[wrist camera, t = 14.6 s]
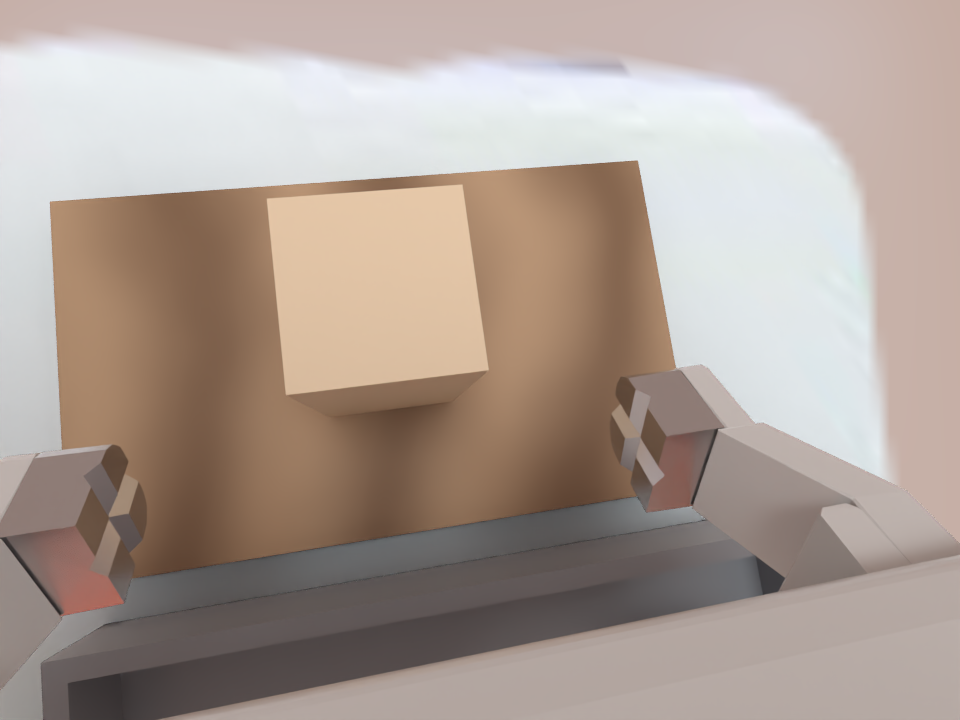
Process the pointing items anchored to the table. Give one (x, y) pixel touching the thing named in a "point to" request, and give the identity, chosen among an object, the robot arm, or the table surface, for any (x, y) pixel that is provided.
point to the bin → (393, 623)
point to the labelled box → (376, 298)
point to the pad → (359, 437)
